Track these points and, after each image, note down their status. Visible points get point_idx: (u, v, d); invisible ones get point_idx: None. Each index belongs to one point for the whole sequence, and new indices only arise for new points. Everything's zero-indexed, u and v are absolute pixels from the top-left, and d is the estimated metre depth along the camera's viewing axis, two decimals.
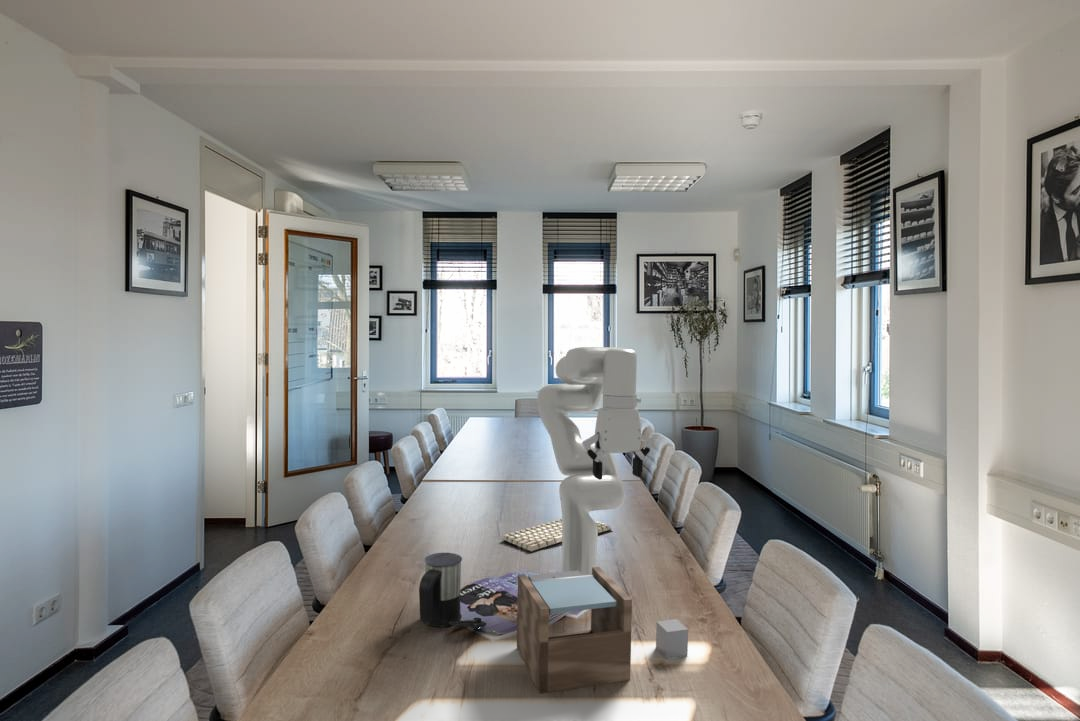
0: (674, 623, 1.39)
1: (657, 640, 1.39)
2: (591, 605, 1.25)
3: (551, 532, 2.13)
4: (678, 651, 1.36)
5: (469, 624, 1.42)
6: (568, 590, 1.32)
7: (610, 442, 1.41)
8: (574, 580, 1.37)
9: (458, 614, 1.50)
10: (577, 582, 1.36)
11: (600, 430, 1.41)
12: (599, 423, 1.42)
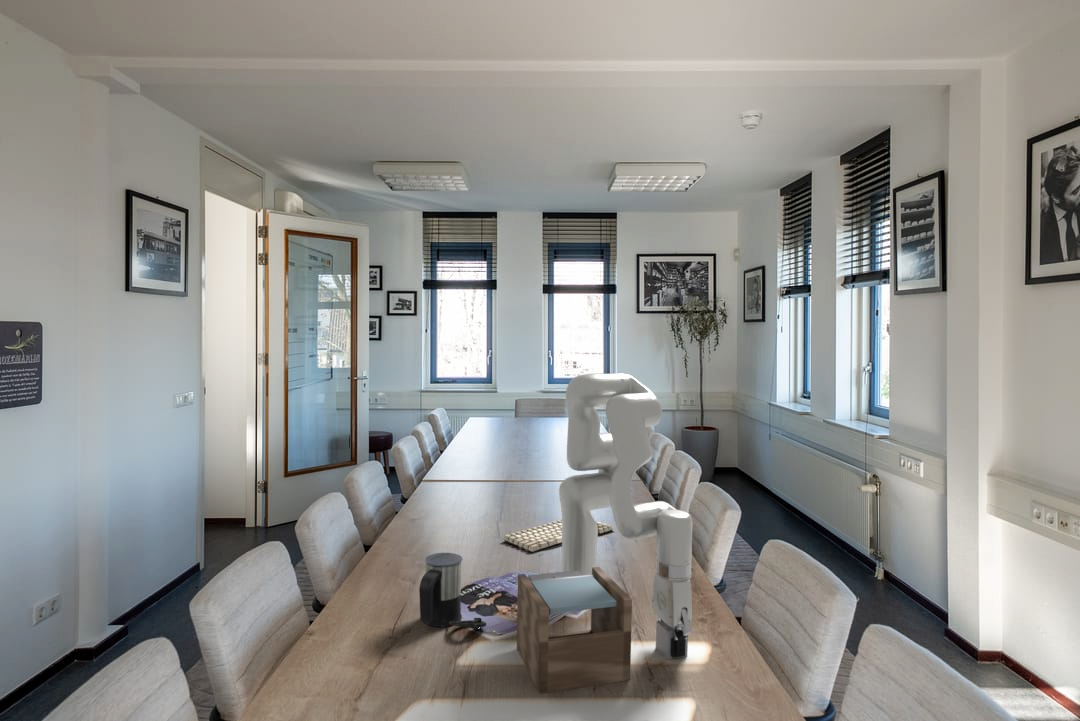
0: None
1: (657, 640, 1.39)
2: (591, 605, 1.25)
3: (552, 532, 2.13)
4: None
5: (469, 624, 1.42)
6: (568, 590, 1.32)
7: None
8: (574, 580, 1.37)
9: (458, 614, 1.50)
10: (577, 582, 1.36)
11: (688, 604, 1.33)
12: (685, 597, 1.33)
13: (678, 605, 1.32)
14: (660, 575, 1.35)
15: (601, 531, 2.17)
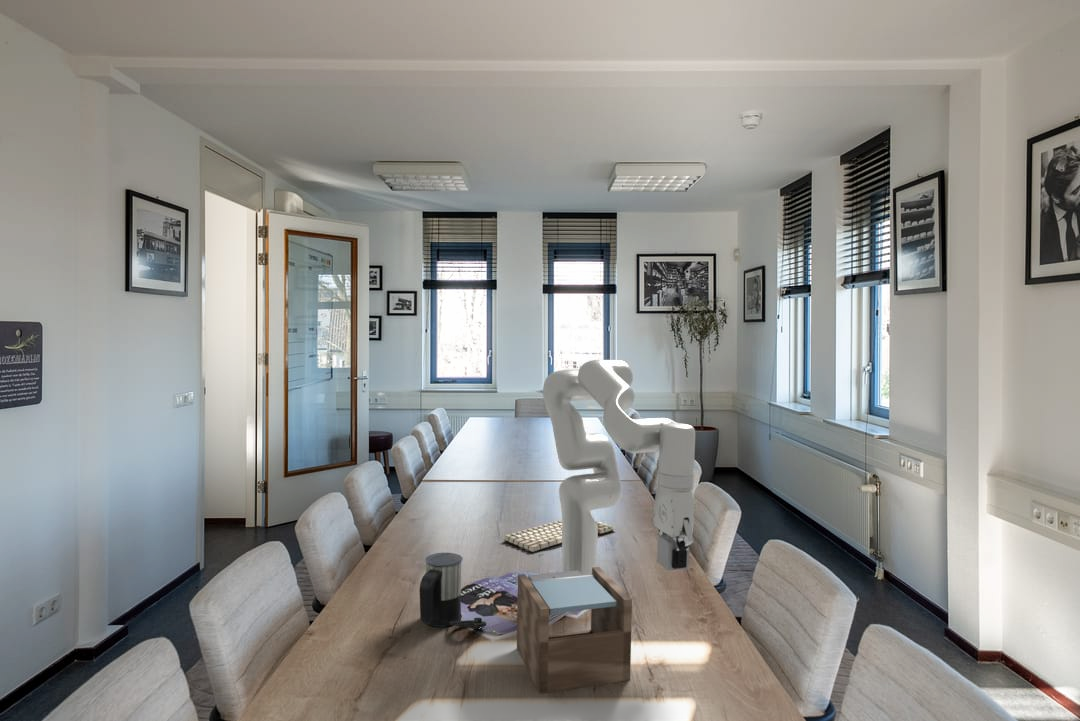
0: None
1: (658, 554, 1.38)
2: (591, 605, 1.25)
3: (553, 532, 2.12)
4: None
5: (469, 624, 1.42)
6: (568, 590, 1.32)
7: None
8: (574, 580, 1.37)
9: (458, 614, 1.50)
10: (577, 582, 1.36)
11: (690, 514, 1.32)
12: (687, 507, 1.32)
13: (680, 515, 1.32)
14: (662, 486, 1.34)
15: (602, 531, 2.16)
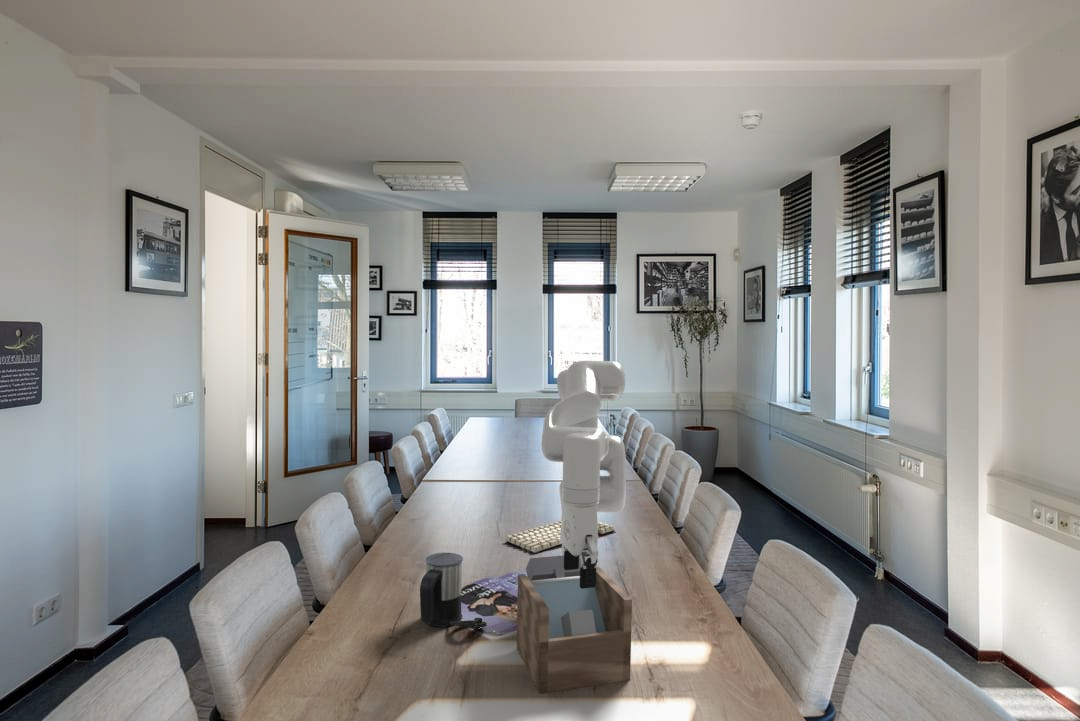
0: (587, 618, 1.26)
1: (563, 618, 1.29)
2: None
3: (554, 533, 2.12)
4: None
5: (470, 624, 1.42)
6: (565, 609, 1.34)
7: None
8: (573, 587, 1.37)
9: (459, 614, 1.50)
10: (575, 592, 1.37)
11: (593, 531, 1.23)
12: (590, 524, 1.23)
13: (582, 532, 1.22)
14: (565, 501, 1.25)
15: (603, 531, 2.16)
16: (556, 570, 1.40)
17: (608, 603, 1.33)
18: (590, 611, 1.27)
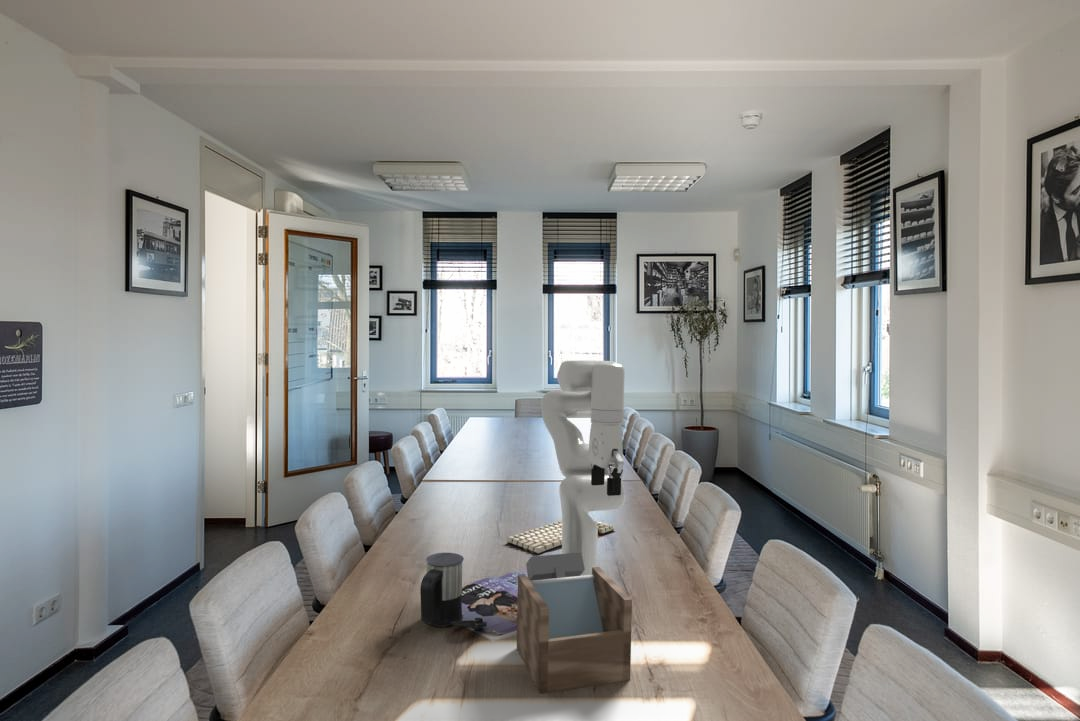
0: None
1: None
2: None
3: (555, 533, 2.12)
4: None
5: (470, 624, 1.42)
6: (564, 611, 1.34)
7: None
8: (573, 588, 1.38)
9: (459, 614, 1.50)
10: (575, 593, 1.37)
11: (619, 446, 1.41)
12: (616, 439, 1.41)
13: (609, 446, 1.40)
14: (593, 421, 1.43)
15: (603, 531, 2.17)
16: (556, 569, 1.40)
17: (608, 603, 1.33)
18: None
